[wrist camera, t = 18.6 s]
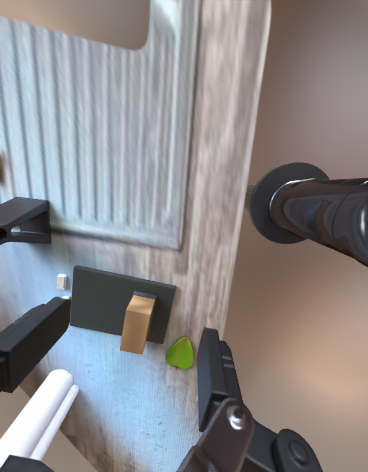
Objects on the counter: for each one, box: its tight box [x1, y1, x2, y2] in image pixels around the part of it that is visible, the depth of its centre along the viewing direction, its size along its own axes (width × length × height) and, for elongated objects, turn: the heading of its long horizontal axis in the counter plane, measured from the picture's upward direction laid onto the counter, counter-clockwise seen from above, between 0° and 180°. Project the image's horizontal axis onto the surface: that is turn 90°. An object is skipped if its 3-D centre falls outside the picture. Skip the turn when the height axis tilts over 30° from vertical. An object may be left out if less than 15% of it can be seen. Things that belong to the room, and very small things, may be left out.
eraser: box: [120, 291, 157, 354], centre depth 38 cm, size 5×10×6 cm, turn 168°
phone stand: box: [0, 197, 51, 245], centre depth 32 cm, size 9×6×12 cm, turn 173°
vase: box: [0, 370, 79, 467], centre depth 40 cm, size 11×7×20 cm, turn 9°
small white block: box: [57, 274, 67, 290], centre depth 41 cm, size 2×3×1 cm, turn 168°
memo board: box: [70, 265, 176, 344], centre depth 42 cm, size 22×15×1 cm
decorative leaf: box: [166, 337, 193, 369], centre depth 45 cm, size 8×9×1 cm
